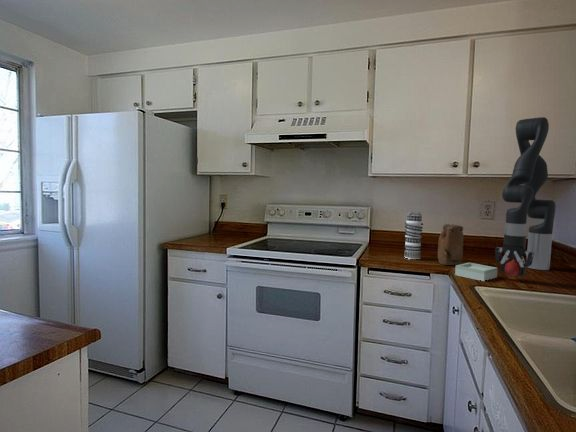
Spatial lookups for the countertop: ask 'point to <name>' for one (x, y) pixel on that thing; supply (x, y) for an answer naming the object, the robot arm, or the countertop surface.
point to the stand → (476, 271)
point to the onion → (512, 268)
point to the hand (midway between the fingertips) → (512, 274)
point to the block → (450, 245)
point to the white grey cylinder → (413, 235)
